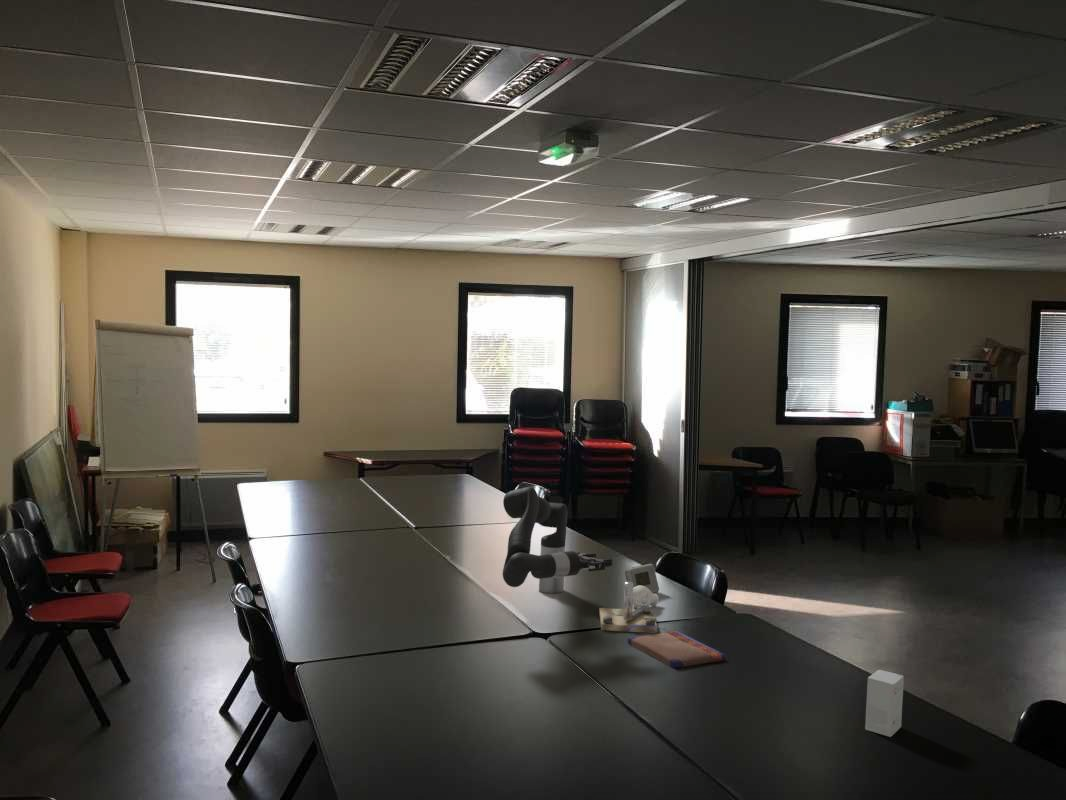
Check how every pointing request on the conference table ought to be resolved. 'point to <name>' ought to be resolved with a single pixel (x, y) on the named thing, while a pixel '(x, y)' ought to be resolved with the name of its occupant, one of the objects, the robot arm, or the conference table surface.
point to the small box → (884, 702)
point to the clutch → (675, 648)
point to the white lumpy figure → (644, 596)
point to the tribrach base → (626, 621)
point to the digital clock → (643, 577)
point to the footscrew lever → (628, 603)
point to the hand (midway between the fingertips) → (603, 559)
